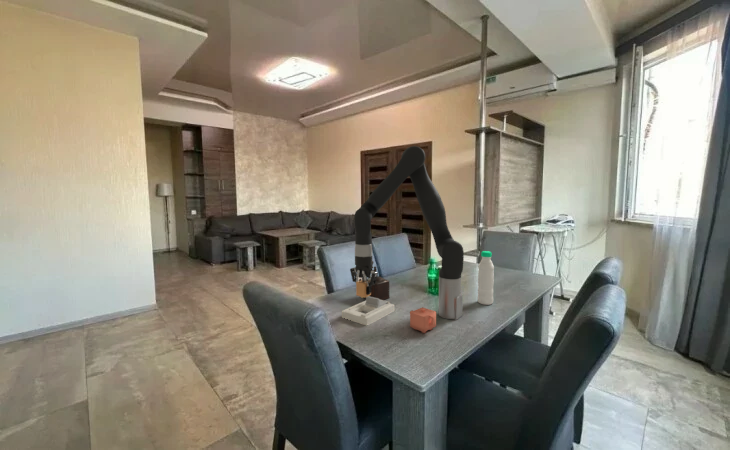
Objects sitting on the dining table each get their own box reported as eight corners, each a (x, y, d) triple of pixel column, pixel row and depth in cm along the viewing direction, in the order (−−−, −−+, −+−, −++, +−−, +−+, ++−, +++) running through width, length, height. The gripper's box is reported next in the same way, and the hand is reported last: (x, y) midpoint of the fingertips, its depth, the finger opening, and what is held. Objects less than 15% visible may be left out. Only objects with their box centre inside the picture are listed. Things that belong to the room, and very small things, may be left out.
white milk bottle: (476, 304, 154) (477, 252, 152) (478, 299, 161) (479, 249, 158) (492, 306, 151) (493, 253, 149) (493, 301, 157) (495, 250, 155)
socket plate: (394, 311, 147) (394, 303, 147) (367, 325, 131) (366, 316, 131) (370, 304, 156) (370, 297, 155) (341, 317, 140) (341, 309, 140)
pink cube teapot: (416, 321, 135) (416, 302, 134) (440, 330, 126) (440, 310, 125) (403, 327, 130) (403, 307, 129) (428, 336, 121) (428, 315, 120)
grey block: (386, 303, 148) (386, 295, 148) (377, 308, 143) (377, 299, 142) (374, 300, 152) (374, 292, 152) (365, 304, 147) (365, 296, 147)
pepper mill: (391, 298, 165) (390, 263, 163) (375, 303, 158) (374, 267, 156) (370, 291, 177) (370, 258, 175) (355, 295, 169) (354, 262, 168)
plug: (371, 296, 141) (370, 277, 140) (364, 299, 137) (364, 280, 136) (362, 294, 143) (362, 276, 143) (356, 297, 140) (356, 278, 139)
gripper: (345, 253, 140) (345, 292, 142) (371, 257, 131) (371, 298, 133) (356, 251, 146) (356, 288, 147) (382, 254, 137) (382, 294, 139)
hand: (363, 292), depth 140 cm, fingers closed on plug, 4 cm apart
